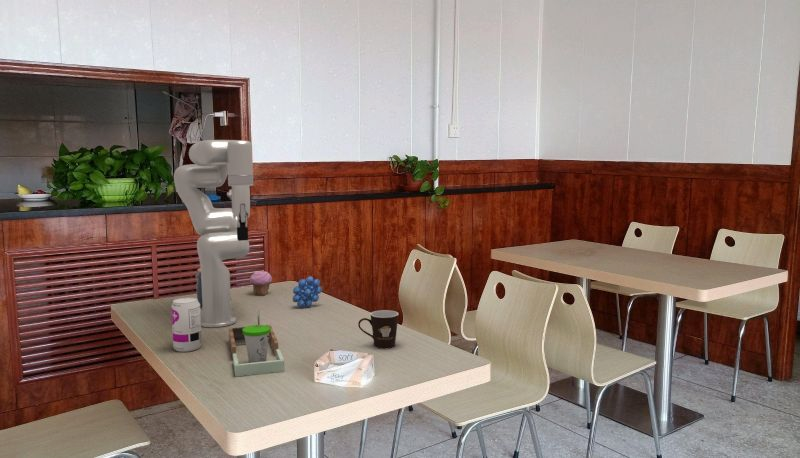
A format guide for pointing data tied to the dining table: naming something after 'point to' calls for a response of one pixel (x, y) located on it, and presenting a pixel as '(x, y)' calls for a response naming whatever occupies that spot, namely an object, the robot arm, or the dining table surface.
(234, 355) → the bay
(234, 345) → the brown wooden tray
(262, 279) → the cupcake
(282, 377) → the dining table surface
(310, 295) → the grapes
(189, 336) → the supplement can
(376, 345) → the coffee mug
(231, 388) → the dining table surface
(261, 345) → the cup
